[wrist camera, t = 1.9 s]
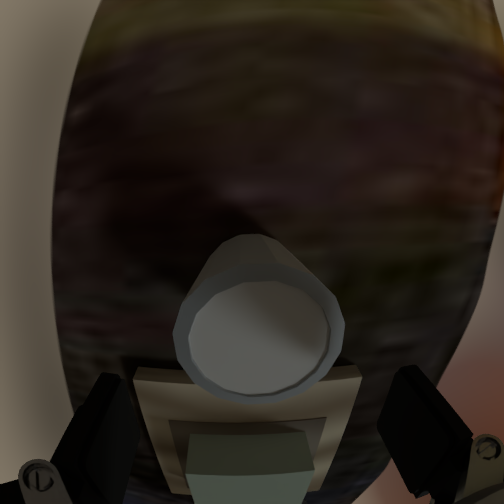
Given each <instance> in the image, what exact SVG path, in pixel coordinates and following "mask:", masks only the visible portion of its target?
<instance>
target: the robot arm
mask: <svg viewBox="0 0 504 504" xmlns="http://www.w3.org/2000/svg"><path fill="white" fill-rule="evenodd" d="M377 429H378V432H379V433H380V435H381V437H382V439H383V441H384V443H385V445H386V447H387V449H388V451H389V453H390V455H391V457H392V459H393V461H394V463H395V465H396V466H397V468H398V471H399V472H400V475H401V477H402V478H403V480H404V483H405V485H406V487H407V489H408V490H409V492H410V493H413V494H414V496H415V498H419V497H422V496H424V495H427V494H428V493H430V495H431V501H430V504H504V445H503V443H502V441H501V440H500V439H499V438H497V437H496V436H493V435H490V434H482V435H479V436H478V437H476V438H475V439H474V440H473V439H472V438H471V437H472V436H473V433H472V432H471V430H470V429H469V428H468V427H467V425H466V424H465V423H464V422H463V420H462V419H461V418H460V417H459V415H458V414H457V413H456V412H455V410H454V409H453V408H452V407H451V406H450V404H449V403H448V402H447V401H446V399H445V398H444V397H443V396H442V395H441V393H440V392H439V391H438V390H437V389H436V387H435V386H434V385H433V384H432V383H431V382H430V380H429V379H428V378H427V377H426V376H425V374H424V373H423V372H422V371H421V370H420V369H419V367H418V366H416V365H409V366H404V367H401V368H400V369H399V371H398V372H396V373H395V375H394V378H393V381H392V384H391V387H390V390H389V393H388V395H387V398H386V401H385V404H384V406H383V409H382V411H381V414H380V416H379V419H378V421H377ZM139 439H140V431H139V427H138V424H137V421H136V418H135V415H134V412H133V408H132V405H131V401H130V398H129V394H128V391H127V387H126V383H125V380H124V379H120V376H119V375H118V374H111V373H104V372H103V373H101V374H100V376H99V378H98V379H97V381H96V383H95V385H94V386H93V388H92V390H91V392H90V394H89V395H88V397H87V399H86V401H85V403H84V404H83V405H81V406H79V408H78V409H77V411H76V412H75V414H74V416H73V418H72V420H71V422H70V423H69V425H68V427H67V429H66V431H65V433H64V435H63V437H62V439H61V440H60V443H59V445H58V447H57V448H56V450H55V452H54V454H53V456H52V458H51V460H50V462H48V461H46V460H42V459H34V460H31V461H28V462H26V463H25V464H24V465H23V466H22V467H21V469H20V470H19V475H18V479H17V480H14V481H10V482H7V483H3V484H0V504H122V503H123V499H124V495H125V491H126V487H127V483H128V479H129V476H130V472H131V468H132V464H133V461H134V457H135V454H136V450H137V447H138V443H139Z"/></svg>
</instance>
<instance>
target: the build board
mask: <svg viewBox="0 0 504 504" xmlns="http://www.w3.org/2000/svg"><path fill="white" fill-rule="evenodd" d="M361 379H362V375H361V374H360V372H359V370H358V368H357V366H356V365H348V366H339V367H331V368H330V370H329V371H328V373H327V374H326V375H325V376H324V377H323V378H322V379H320V380H319V381H318V382H316V383H315V384H314V385H313V386H311V387H310V388H309V389H307V390H306V391H305V392H303V393H301V394H298V395H296V396H293V397H290V398H288V399H285V400H282V401H279V402H276V403H265V404H248V405H246V404H242V403H237V402H233V401H229V400H225V399H221V398H217V397H216V396H214V395H212V394H211V393H209V392H208V391H206V390H204V389H203V388H201V387H200V386H198V385H197V384H195V383H194V382H193V381H192V380H191V378H190V377H189V376H188V374H187V373H186V371H185V370H174V369H160V368H148V367H138V368H137V370H136V373H135V375H134V378H133V382H134V386H135V390H136V393H137V397H138V400H139V404H140V407H141V411H142V414H143V417H144V420H145V423H146V427H147V430H148V433H149V436H150V439H151V441H152V444H153V447H154V450H155V453H156V455H157V458H158V461H159V463H160V466H161V468H162V471H163V473H164V476H165V478H166V481H167V483H168V486H169V488H170V490H171V493H176V494H186V495H192V494H191V491H190V487H189V484H188V481H187V478H186V474H185V472H186V463H187V454H188V446H189V438H190V434H208V435H261V434H281V433H294V432H306V436H307V440H308V444H309V448H310V452H311V456H312V460H313V464H314V468H315V472H314V474H313V477H312V479H311V482H310V484H309V487H308V489H307V492H309V491H316V490H319V489H320V487H321V485H322V483H323V480H324V478H325V476H326V474H327V471H328V469H329V467H330V465H331V462H332V460H333V458H334V455H335V453H336V450H337V448H338V445H339V443H340V440H341V438H342V435H343V432H344V430H345V427H346V424H347V422H348V419H349V416H350V413H351V410H352V407H353V404H354V401H355V398H356V395H357V392H358V389H359V386H360V383H361Z"/></svg>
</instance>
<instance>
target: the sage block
mask: <svg viewBox="0 0 504 504" xmlns="http://www.w3.org/2000/svg"><path fill="white" fill-rule="evenodd" d="M314 472H315V468H314V464H313V460H312V456H311V452H310V448H309V444H308V440H307V436H306V432H294V433H281V434H261V435H208V434H190V438H189V446H188V454H187V463H186V472H185V474H186V478H187V481H188V484H189V487H190V491H191V494H192V497H193V500H194V503H195V504H302V501H303V499H304V497H305V494H306V492H307V489H308V487H309V484H310V482H311V479H312V477H313V474H314Z"/></svg>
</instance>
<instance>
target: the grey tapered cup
mask: <svg viewBox="0 0 504 504" xmlns="http://www.w3.org/2000/svg"><path fill="white" fill-rule="evenodd" d="M344 327H345V323H344V320H343V317H342V314H341V311H340V308H339V305H338V302H337V299H336V297H335V296H334V295H333V294H332V293H331V292H330V291H329V290H328V289H327V288H326V287H325V286H324V285H323V284H322V283H321V282H320V281H319V280H318V279H317V278H316V277H315V276H314V275H313V274H312V273H311V272H310V271H309V270H308V269H307V268H306V267H305V266H304V265H303V264H302V263H301V262H300V261H299V260H298V259H297V258H295V257H294V256H293V255H292V254H291V253H290V252H289V251H288V250H287V249H286V248H285V247H284V246H283V245H282V244H281V243H280V242H279V241H278V240H275V239H272V238H270V237H267V236H264V235H262V234H241V235H238V236H236V237H234V238H231V239H229V240H227V241H225V242H223V243H222V244H221V245H220V246H219V247H218V248H217V249H216V250H215V251H214V252H213V253H212V254H211V255H210V257H209V259H208V260H207V262H206V264H205V265H204V267H203V269H202V270H201V272H200V274H199V275H198V277H197V279H196V280H195V282H194V284H193V286H192V287H191V289H190V291H189V292H188V294H187V296H186V298H185V299H184V301H183V303H182V304H181V307H180V311H179V314H178V317H177V320H176V324H175V327H174V330H173V338H174V344H175V349H176V355H177V360H178V362H179V363H180V364H181V366H182V367H183V369H184V370H185V371H186V373H187V374H188V376H189V377H190V378H191V380H192V381H193V382H194V383H195V384H197V385H198V386H200V387H201V388H203V389H204V390H206V391H208V392H209V393H211V394H212V395H214V396H216V397H217V398H221V399H225V400H229V401H233V402H237V403H242V404H246V405H248V404H265V403H276V402H279V401H282V400H285V399H288V398H290V397H293V396H296V395H298V394H301V393H303V392H305V391H306V390H307V389H309V388H310V387H311V386H313V385H314V384H315V383H316V382H318V381H319V380H320V379H322V378H323V377H324V376H325V375H326V374H327V373H328V371H329V370H330V368H331V366H332V365H333V363H334V362H335V360H336V358H337V357H338V355H339V354H340V352H341V348H342V341H343V334H344Z"/></svg>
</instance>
